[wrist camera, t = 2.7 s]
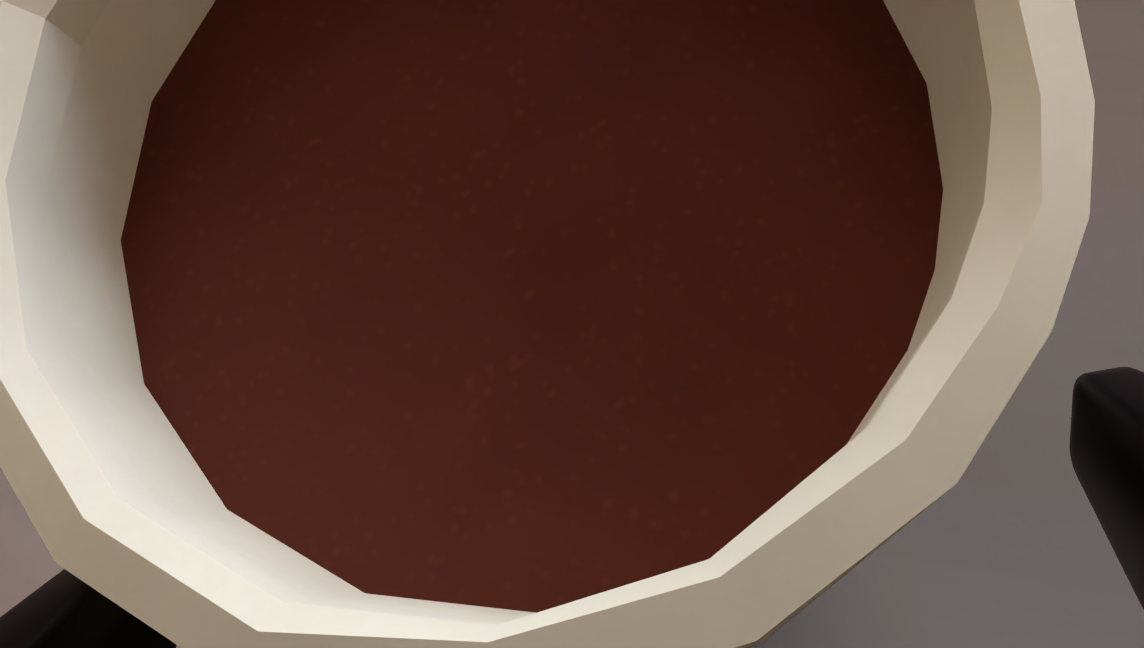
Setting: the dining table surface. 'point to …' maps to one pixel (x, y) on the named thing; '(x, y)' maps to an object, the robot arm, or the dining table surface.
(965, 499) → the dining table surface
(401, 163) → the character mug
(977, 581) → the dining table surface
